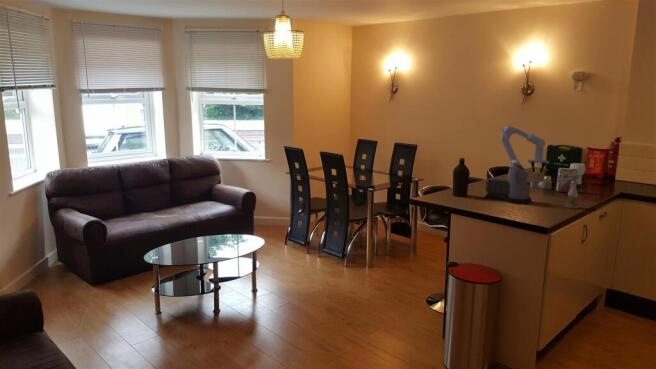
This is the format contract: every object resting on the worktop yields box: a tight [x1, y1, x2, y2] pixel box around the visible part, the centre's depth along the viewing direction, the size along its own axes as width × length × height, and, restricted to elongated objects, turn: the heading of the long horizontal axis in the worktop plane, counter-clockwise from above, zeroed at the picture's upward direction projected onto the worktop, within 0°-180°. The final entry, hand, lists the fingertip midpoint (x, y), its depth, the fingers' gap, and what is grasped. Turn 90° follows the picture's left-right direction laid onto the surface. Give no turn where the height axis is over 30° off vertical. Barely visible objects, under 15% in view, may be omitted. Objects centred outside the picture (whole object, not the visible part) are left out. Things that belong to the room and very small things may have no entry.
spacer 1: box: [533, 167, 542, 177], centre depth 383 cm, size 5×5×5 cm
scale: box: [530, 179, 553, 190], centre depth 371 cm, size 13×17×5 cm
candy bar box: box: [555, 167, 577, 193], centre depth 353 cm, size 11×5×16 cm, turn 84°
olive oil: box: [452, 157, 471, 198], centre depth 334 cm, size 11×11×25 cm
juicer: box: [482, 163, 534, 206], centre depth 322 cm, size 30×16×24 cm, turn 57°
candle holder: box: [563, 173, 583, 210], centre depth 305 cm, size 9×9×20 cm
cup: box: [569, 162, 586, 185], centre depth 386 cm, size 11×11×15 cm
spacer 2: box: [543, 175, 552, 182], centre depth 388 cm, size 5×5×5 cm
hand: (537, 172), depth 383 cm, fingers closed on spacer 1, 5 cm apart
